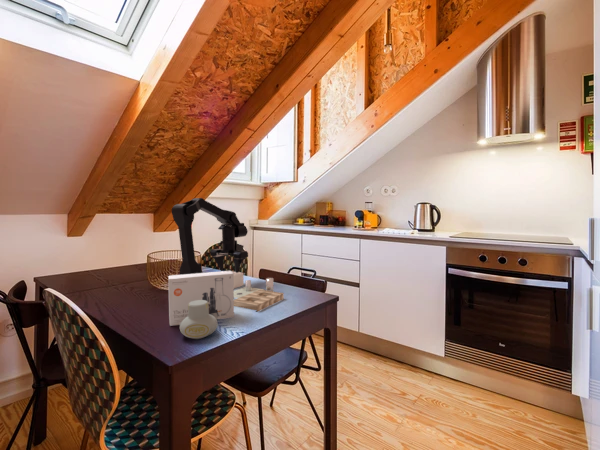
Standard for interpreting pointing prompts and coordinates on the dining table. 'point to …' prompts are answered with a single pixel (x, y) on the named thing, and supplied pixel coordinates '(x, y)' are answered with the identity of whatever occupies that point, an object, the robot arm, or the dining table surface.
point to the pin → (269, 284)
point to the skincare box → (201, 294)
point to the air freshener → (198, 321)
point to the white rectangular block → (238, 279)
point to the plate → (245, 290)
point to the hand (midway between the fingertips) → (229, 271)
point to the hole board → (259, 300)
